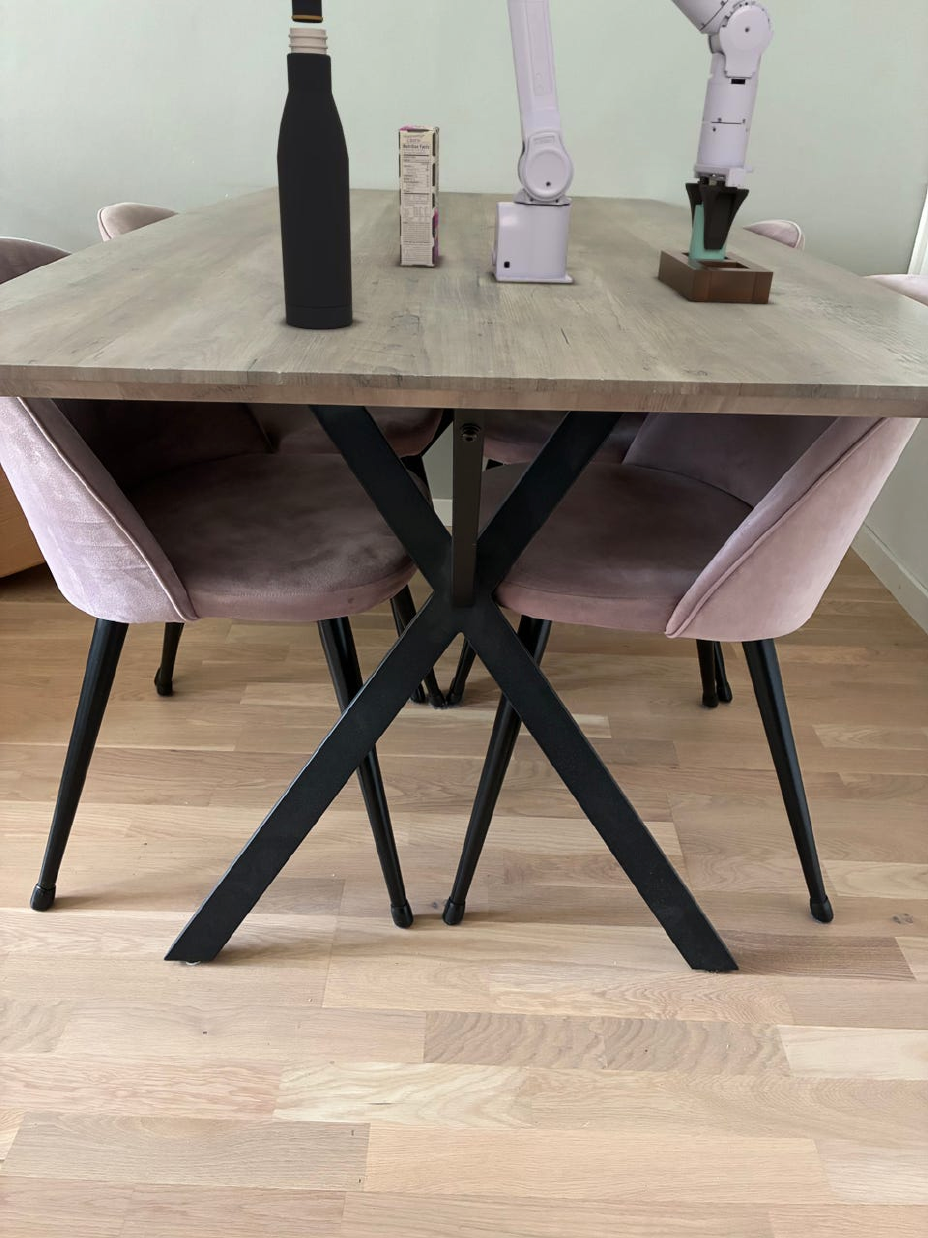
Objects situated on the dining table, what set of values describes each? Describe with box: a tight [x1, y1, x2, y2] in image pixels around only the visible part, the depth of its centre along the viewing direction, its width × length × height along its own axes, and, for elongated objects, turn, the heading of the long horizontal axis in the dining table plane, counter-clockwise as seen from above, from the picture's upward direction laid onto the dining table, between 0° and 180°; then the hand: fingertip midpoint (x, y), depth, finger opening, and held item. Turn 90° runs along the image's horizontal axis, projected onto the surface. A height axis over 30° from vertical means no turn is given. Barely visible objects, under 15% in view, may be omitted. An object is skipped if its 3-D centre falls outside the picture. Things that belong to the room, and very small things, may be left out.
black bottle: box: [276, 0, 353, 330], centre depth 82 cm, size 6×6×30 cm
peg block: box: [657, 249, 774, 304], centre depth 114 cm, size 9×16×4 cm, turn 3°
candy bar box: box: [397, 125, 440, 268], centre depth 123 cm, size 11×5×16 cm, turn 179°
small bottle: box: [688, 179, 729, 259], centre depth 114 cm, size 4×4×10 cm
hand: (707, 246), depth 115 cm, fingers closed on small bottle, 4 cm apart
